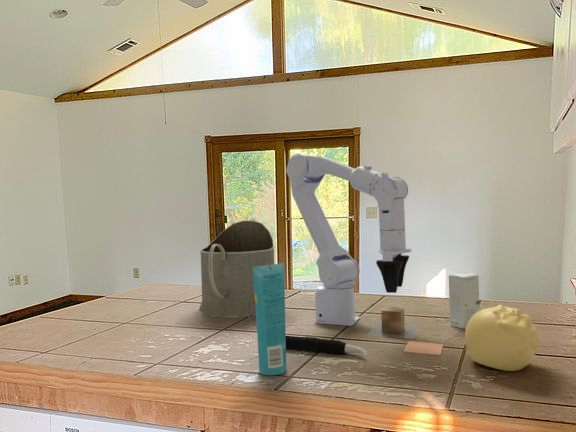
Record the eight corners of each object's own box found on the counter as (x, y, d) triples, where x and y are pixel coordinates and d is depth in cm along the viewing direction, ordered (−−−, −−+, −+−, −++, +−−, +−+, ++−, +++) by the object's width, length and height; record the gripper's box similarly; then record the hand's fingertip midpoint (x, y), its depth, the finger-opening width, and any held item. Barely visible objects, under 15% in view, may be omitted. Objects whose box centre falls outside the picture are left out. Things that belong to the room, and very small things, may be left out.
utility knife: (370, 355, 92) (370, 340, 91) (365, 362, 88) (365, 346, 88) (271, 345, 100) (270, 331, 100) (263, 351, 96) (262, 336, 96)
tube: (276, 362, 88) (273, 261, 88) (296, 368, 85) (293, 263, 85) (248, 374, 83) (245, 266, 82) (268, 380, 79) (265, 268, 79)
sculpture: (536, 382, 76) (535, 316, 76) (459, 369, 82) (458, 308, 82) (541, 360, 86) (540, 302, 85) (472, 351, 92) (471, 296, 92)
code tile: (366, 335, 105) (366, 334, 105) (376, 324, 114) (376, 323, 114) (412, 339, 101) (412, 338, 101) (418, 327, 110) (418, 326, 110)
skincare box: (464, 329, 107) (463, 277, 107) (448, 325, 111) (447, 274, 111) (481, 325, 111) (480, 274, 110) (464, 321, 114) (463, 272, 114)
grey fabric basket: (287, 300, 145) (285, 219, 144) (256, 327, 114) (253, 225, 114) (217, 298, 151) (215, 221, 150) (170, 324, 120) (166, 226, 119)
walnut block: (381, 332, 106) (381, 310, 106) (385, 327, 110) (385, 306, 110) (401, 334, 104) (401, 311, 104) (404, 329, 109) (404, 307, 108)
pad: (403, 352, 92) (403, 351, 92) (408, 342, 99) (408, 341, 99) (440, 356, 90) (440, 354, 90) (443, 345, 96) (443, 344, 96)
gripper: (405, 231, 98) (407, 295, 99) (414, 227, 112) (416, 284, 112) (372, 232, 101) (374, 294, 101) (384, 228, 115) (386, 283, 115)
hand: (394, 289), depth 107 cm, fingers open, 7 cm apart
